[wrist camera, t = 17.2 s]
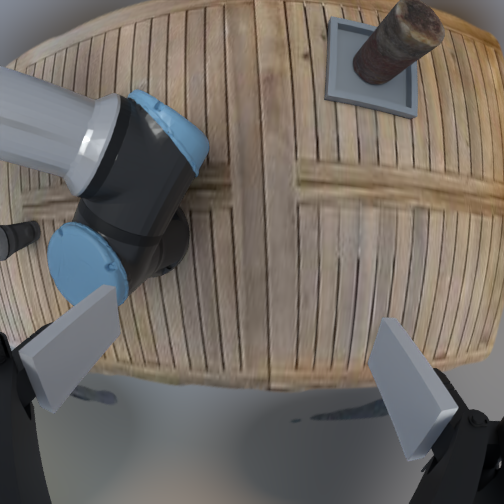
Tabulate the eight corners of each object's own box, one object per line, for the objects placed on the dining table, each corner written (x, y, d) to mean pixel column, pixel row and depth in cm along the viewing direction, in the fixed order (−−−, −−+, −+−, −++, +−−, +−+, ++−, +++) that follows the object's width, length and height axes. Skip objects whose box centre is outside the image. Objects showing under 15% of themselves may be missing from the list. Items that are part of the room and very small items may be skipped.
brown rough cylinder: (380, 46, 38) (428, -4, 19) (398, 81, 40) (458, 44, 21) (344, 54, 40) (381, -2, 20) (363, 90, 41) (413, 49, 22)
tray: (324, 99, 43) (327, 95, 40) (328, 23, 38) (330, 16, 36) (409, 119, 42) (417, 116, 39) (408, 44, 38) (415, 39, 35)
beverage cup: (47, 222, 52) (-20, 245, 32) (41, 251, 54) (-20, 280, 34) (27, 210, 51) (-37, 228, 32) (23, 238, 53) (-38, 262, 34)
